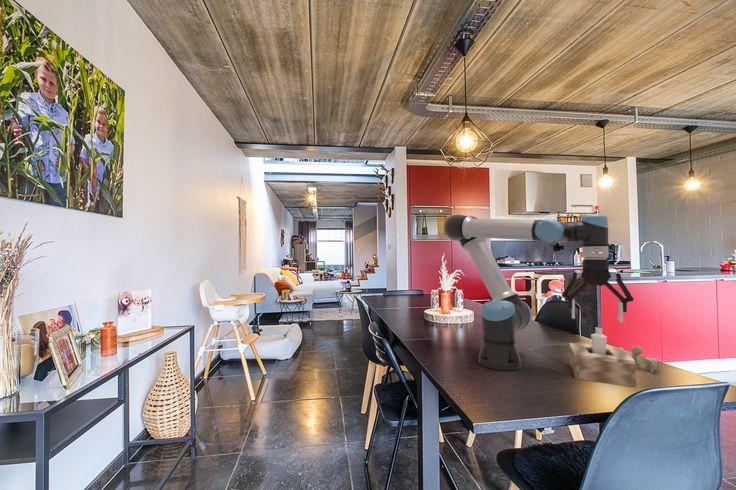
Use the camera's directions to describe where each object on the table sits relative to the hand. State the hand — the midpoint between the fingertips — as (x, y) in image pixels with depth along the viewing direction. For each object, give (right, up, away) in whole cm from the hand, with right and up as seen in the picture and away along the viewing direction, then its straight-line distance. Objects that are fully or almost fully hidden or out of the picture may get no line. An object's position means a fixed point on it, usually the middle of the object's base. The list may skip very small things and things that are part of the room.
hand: (596, 319), depth 111 cm
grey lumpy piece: (+20, -19, +2) cm, 28 cm away
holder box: (+1, -19, -1) cm, 19 cm away
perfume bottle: (0, -18, -1) cm, 18 cm away
